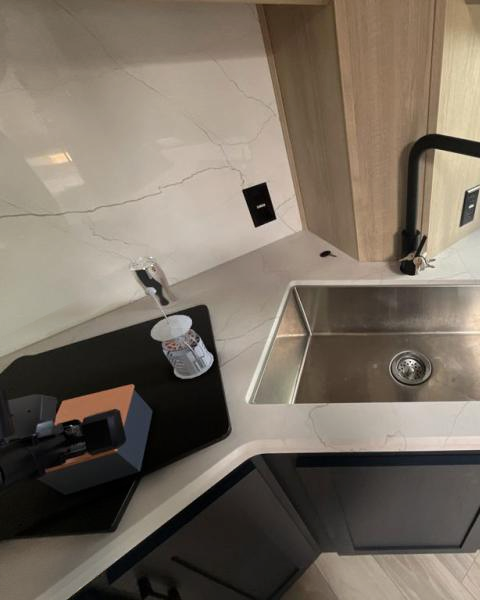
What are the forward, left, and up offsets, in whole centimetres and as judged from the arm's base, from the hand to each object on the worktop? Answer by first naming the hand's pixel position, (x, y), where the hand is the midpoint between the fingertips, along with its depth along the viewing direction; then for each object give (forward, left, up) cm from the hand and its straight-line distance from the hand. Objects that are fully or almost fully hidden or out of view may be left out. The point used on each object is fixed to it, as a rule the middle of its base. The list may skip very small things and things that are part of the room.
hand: (83, 430), depth 58 cm
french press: (+23, +2, -10) cm, 25 cm away
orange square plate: (+1, +1, -1) cm, 2 cm away
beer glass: (+38, +29, -10) cm, 48 cm away
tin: (+1, +1, -10) cm, 10 cm away
